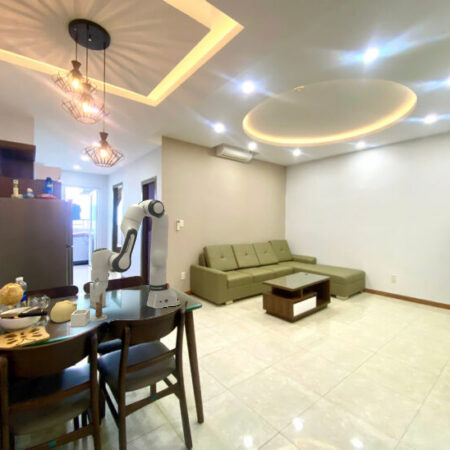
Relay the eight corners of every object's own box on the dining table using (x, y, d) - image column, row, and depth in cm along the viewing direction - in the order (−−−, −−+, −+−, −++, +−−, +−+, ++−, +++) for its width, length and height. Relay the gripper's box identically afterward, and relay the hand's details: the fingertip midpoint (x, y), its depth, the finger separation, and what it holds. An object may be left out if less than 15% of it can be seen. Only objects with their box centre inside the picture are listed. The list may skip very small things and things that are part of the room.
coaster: (109, 315, 144) (109, 314, 144) (105, 321, 135) (105, 320, 135) (93, 316, 142) (93, 315, 142) (87, 322, 133) (87, 321, 133)
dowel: (102, 314, 140) (103, 289, 140) (101, 317, 137) (101, 290, 137) (96, 315, 140) (97, 289, 140) (94, 317, 136) (95, 291, 136)
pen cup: (89, 321, 134) (90, 309, 134) (85, 327, 127) (85, 314, 127) (76, 322, 132) (76, 309, 132) (70, 328, 126) (70, 314, 126)
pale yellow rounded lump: (79, 316, 141) (80, 297, 141) (67, 324, 129) (67, 304, 129) (59, 316, 141) (60, 297, 141) (45, 324, 129) (45, 304, 129)
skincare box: (105, 306, 158) (106, 282, 158) (95, 309, 153) (96, 284, 152) (99, 303, 163) (99, 280, 163) (89, 306, 157) (89, 282, 157)
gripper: (100, 280, 129) (99, 306, 129) (110, 272, 149) (109, 295, 149) (87, 281, 127) (86, 307, 128) (99, 272, 147) (98, 295, 148)
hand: (99, 300), depth 138 cm, fingers closed on dowel, 3 cm apart
